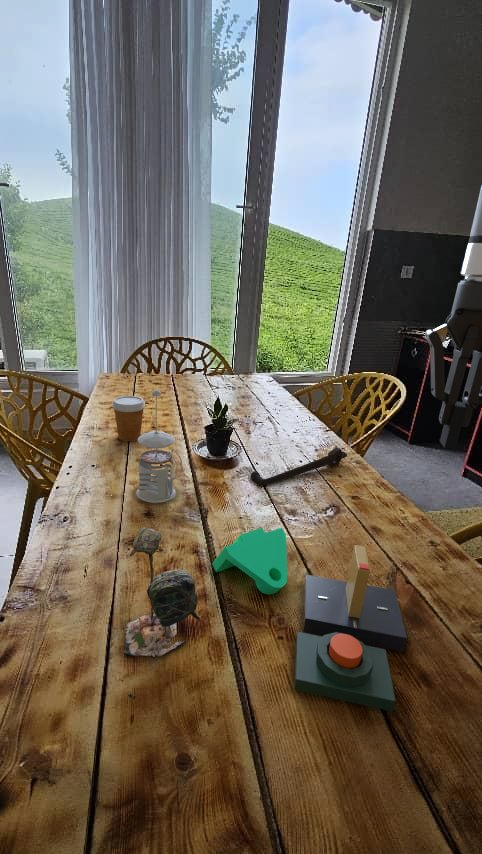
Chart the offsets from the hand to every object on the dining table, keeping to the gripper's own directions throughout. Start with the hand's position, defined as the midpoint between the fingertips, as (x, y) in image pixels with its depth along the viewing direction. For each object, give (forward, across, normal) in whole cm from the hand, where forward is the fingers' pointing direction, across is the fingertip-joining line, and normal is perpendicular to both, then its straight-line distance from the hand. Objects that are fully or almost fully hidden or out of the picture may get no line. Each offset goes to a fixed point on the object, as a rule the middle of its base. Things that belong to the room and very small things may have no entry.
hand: (447, 445), depth 67 cm
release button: (+23, -13, -22) cm, 34 cm away
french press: (+27, -51, +17) cm, 60 cm away
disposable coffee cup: (+27, -70, +47) cm, 88 cm away
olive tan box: (+23, -11, -11) cm, 28 cm away
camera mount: (+22, -29, -2) cm, 36 cm away
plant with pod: (+27, -38, -22) cm, 51 cm away
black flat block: (+26, -11, -11) cm, 31 cm away
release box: (+26, -13, -22) cm, 37 cm away
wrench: (+27, -20, +40) cm, 52 cm away
